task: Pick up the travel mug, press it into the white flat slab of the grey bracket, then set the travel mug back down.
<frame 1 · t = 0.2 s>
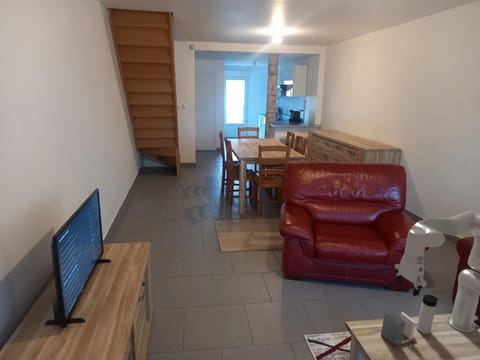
hand: (407, 289, 160), 31 cm above the table, fingers open, 9 cm apart
travel mug: (423, 331, 179), on the table
grey bracket: (398, 338, 173), on the table
white flat slab: (407, 326, 172), point 7 cm above the table, slide at 0.0 cm
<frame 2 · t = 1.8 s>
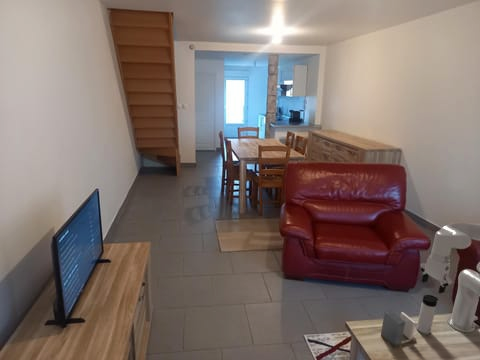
hand: (432, 287, 171), 26 cm above the table, fingers open, 9 cm apart
nothing on the table moved.
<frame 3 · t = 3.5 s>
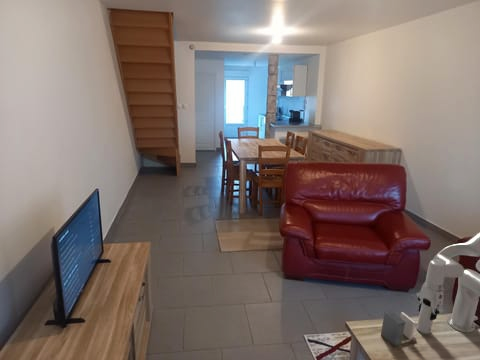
hand: (426, 314, 176), 10 cm above the table, fingers closed on travel mug, 6 cm apart
travel mug: (423, 331, 179), on the table, touching gripper
everything else where it was.
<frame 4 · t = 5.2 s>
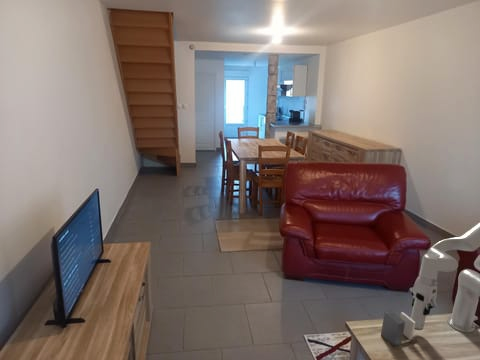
hand: (420, 310, 173), 14 cm above the table, fingers closed on travel mug, 6 cm apart
travel mug: (416, 326, 176), point 4 cm above the table, touching gripper
everything else where it was.
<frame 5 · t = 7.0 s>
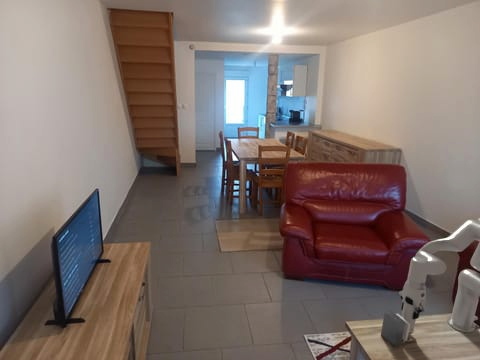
hand: (409, 313, 171), 13 cm above the table, fingers closed on travel mug, 6 cm apart
travel mug: (406, 330, 173), point 4 cm above the table, touching gripper
white flat slab: (402, 328, 171), point 7 cm above the table, slide at 3.4 cm
when the fingers open (11 cm above the table, at t = 9.8 s): travel mug drops 1 cm, on the table.
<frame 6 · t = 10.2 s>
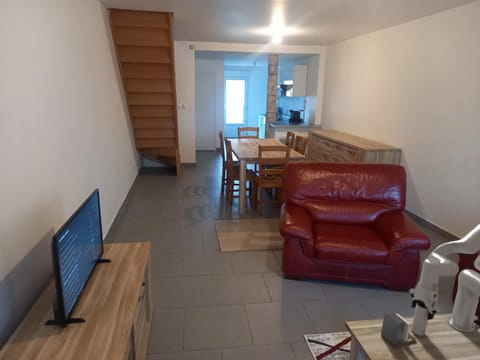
hand: (421, 313, 174), 12 cm above the table, fingers open, 9 cm apart
travel mug: (418, 332, 178), on the table
everything else where it was.
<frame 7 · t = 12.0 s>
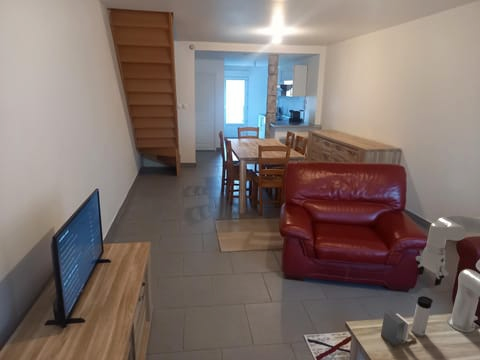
hand: (428, 279, 170), 30 cm above the table, fingers open, 9 cm apart
nothing on the table moved.
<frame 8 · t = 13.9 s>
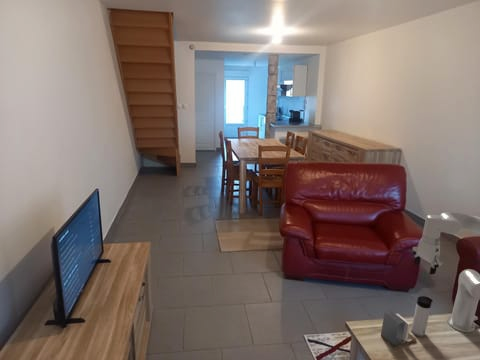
hand: (424, 269, 179), 30 cm above the table, fingers open, 9 cm apart
nothing on the table moved.
at the end: white flat slab slide at 3.4 cm; travel mug tilted 0°; travel mug inside the target area (0.3 cm from its centre), on the table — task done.
